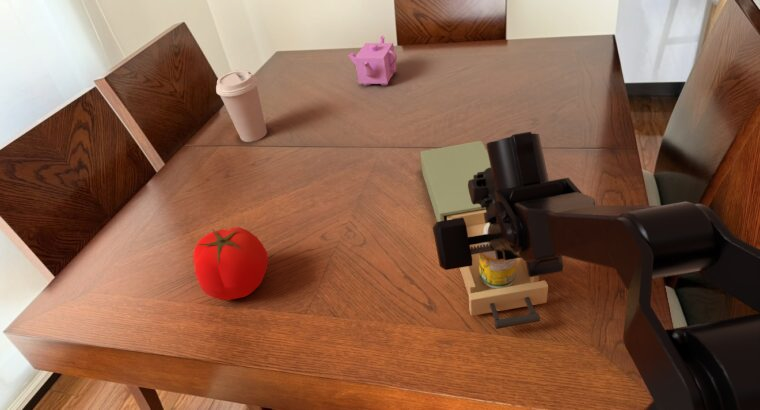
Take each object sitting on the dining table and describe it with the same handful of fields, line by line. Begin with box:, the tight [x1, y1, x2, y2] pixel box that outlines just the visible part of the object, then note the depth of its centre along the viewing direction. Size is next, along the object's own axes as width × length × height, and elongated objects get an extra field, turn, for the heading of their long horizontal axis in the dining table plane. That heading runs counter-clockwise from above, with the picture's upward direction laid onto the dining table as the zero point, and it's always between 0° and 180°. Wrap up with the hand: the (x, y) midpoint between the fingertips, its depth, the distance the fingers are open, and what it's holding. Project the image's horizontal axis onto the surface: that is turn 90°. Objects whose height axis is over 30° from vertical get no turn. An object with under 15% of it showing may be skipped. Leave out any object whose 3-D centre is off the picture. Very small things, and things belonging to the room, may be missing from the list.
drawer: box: [447, 209, 549, 330], centre depth 76 cm, size 22×11×4 cm, turn 6°
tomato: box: [192, 226, 269, 301], centre depth 80 cm, size 12×12×11 cm
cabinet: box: [419, 140, 491, 222], centre depth 92 cm, size 19×12×5 cm, turn 6°
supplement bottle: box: [479, 223, 517, 289], centre depth 73 cm, size 5×5×10 cm
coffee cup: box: [215, 69, 268, 143], centre depth 118 cm, size 10×10×15 cm
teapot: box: [347, 35, 398, 87], centre depth 134 cm, size 18×13×10 cm
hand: (495, 236), depth 72 cm, fingers open, 9 cm apart
